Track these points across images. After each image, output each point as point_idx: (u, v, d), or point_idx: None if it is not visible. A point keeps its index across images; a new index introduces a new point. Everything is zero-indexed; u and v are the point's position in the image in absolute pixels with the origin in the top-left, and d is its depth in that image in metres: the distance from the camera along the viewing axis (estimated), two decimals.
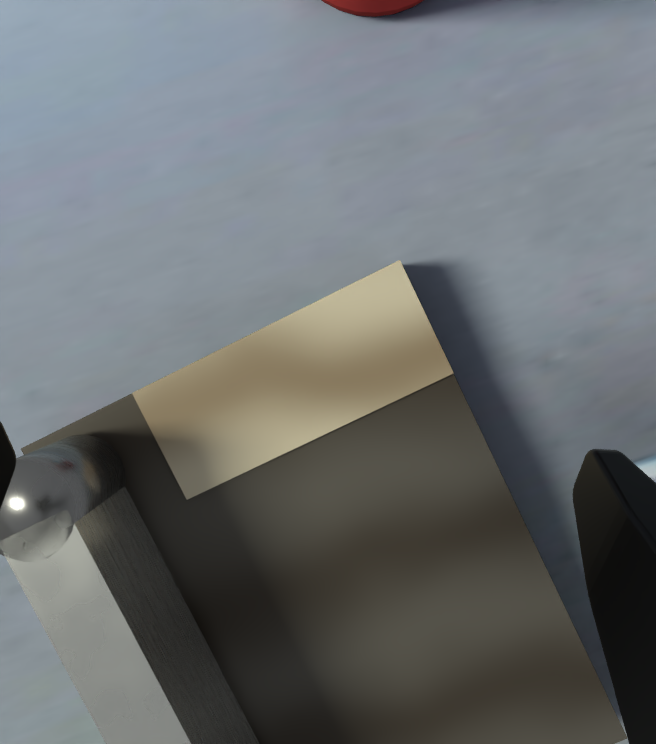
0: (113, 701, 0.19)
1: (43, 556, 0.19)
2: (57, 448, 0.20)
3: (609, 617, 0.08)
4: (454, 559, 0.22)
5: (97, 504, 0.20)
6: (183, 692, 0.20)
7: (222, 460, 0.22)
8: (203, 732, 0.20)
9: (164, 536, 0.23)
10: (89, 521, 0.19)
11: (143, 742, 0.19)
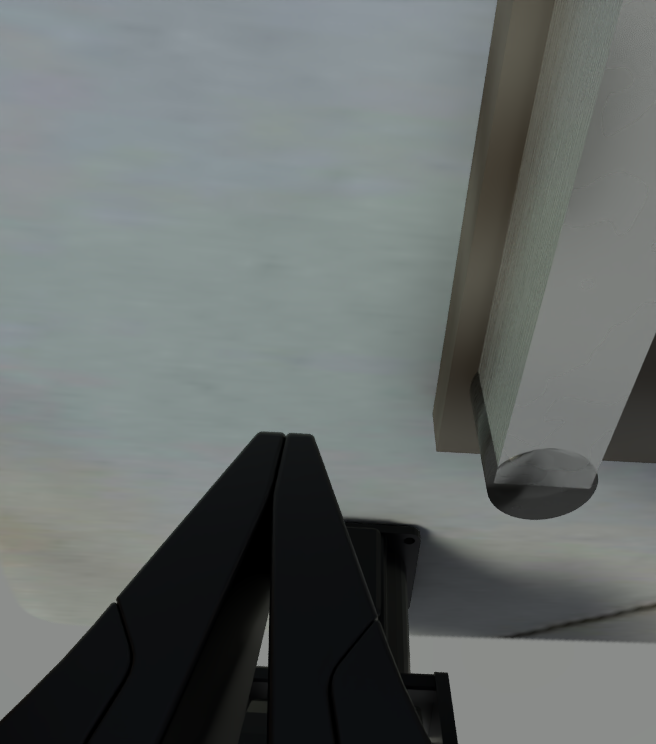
0: (620, 196, 0.11)
1: None
2: None
3: None
4: None
5: None
6: None
7: None
8: None
9: None
10: None
11: (609, 275, 0.12)
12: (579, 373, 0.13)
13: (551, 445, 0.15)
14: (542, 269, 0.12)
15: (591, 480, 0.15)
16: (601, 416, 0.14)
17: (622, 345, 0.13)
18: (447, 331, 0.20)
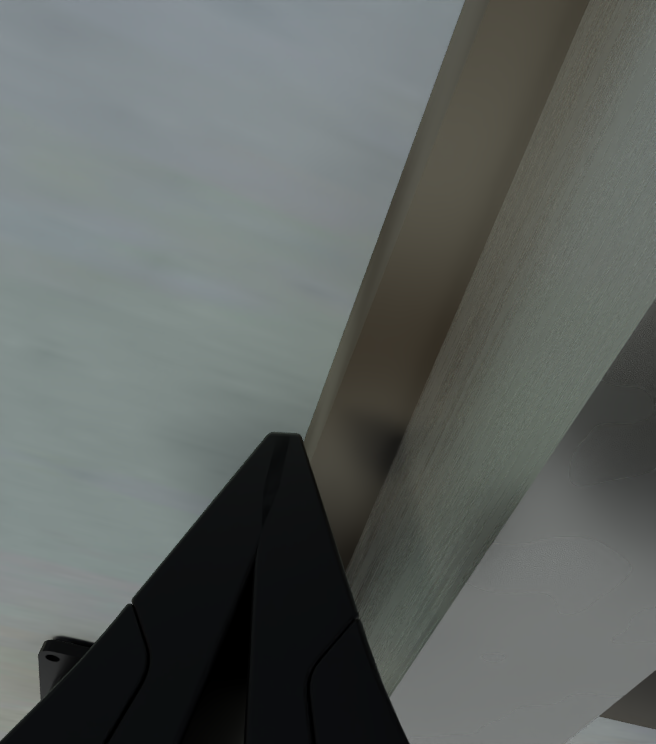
0: (578, 568, 0.06)
1: None
2: None
3: None
4: None
5: None
6: None
7: None
8: None
9: None
10: None
11: (533, 656, 0.07)
12: (459, 739, 0.08)
13: None
14: (424, 601, 0.07)
15: None
16: None
17: (533, 726, 0.08)
18: None
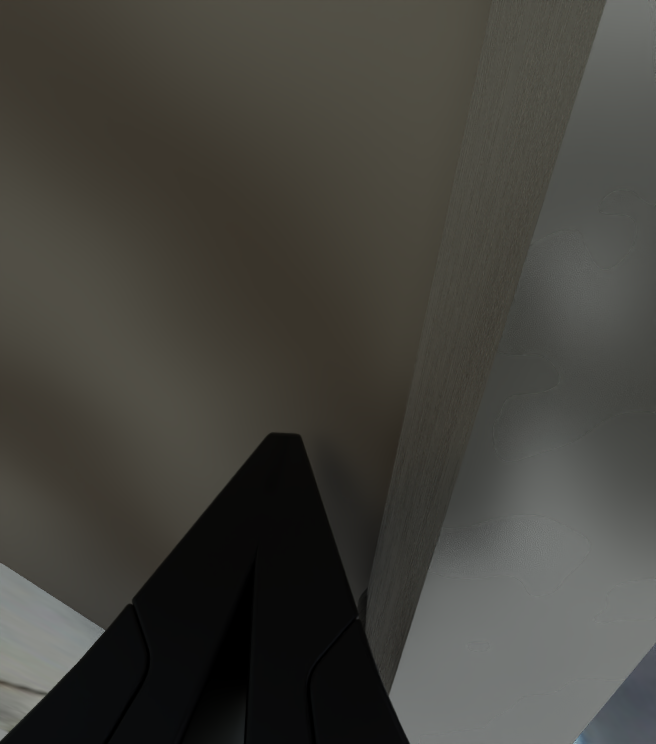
0: (535, 547, 0.05)
1: None
2: None
3: None
4: None
5: None
6: None
7: None
8: None
9: (438, 43, 0.07)
10: None
11: (517, 643, 0.06)
12: (471, 735, 0.08)
13: None
14: (407, 595, 0.07)
15: None
16: None
17: (543, 718, 0.07)
18: None
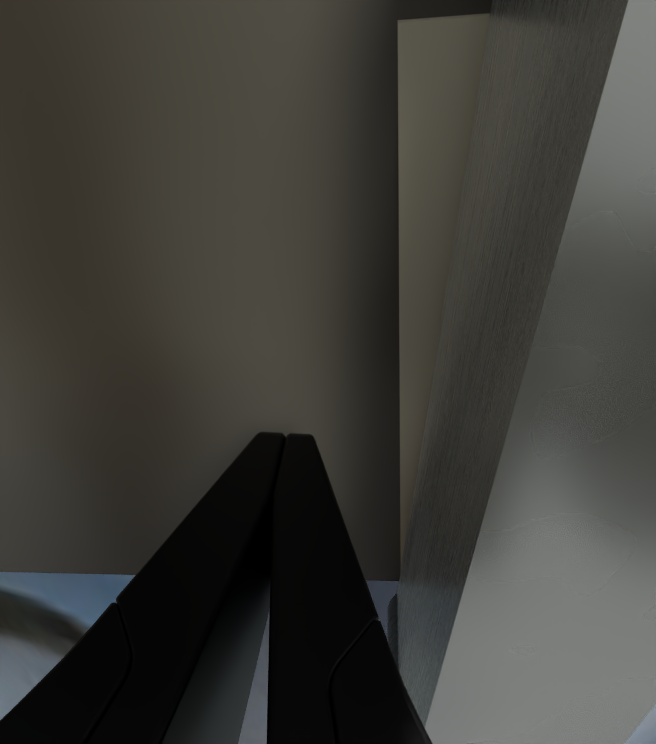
0: (579, 546, 0.05)
1: None
2: None
3: None
4: (89, 491, 0.12)
5: None
6: None
7: (458, 188, 0.08)
8: None
9: None
10: None
11: (563, 645, 0.06)
12: (518, 741, 0.08)
13: None
14: (445, 601, 0.07)
15: None
16: None
17: (591, 720, 0.07)
18: None
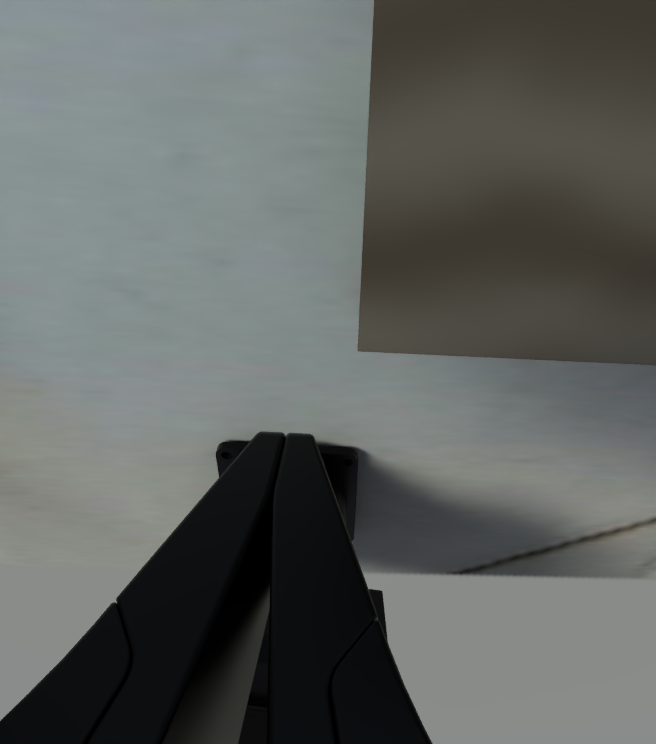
0: None
1: None
2: None
3: None
4: None
5: None
6: None
7: None
8: None
9: None
10: None
11: None
12: None
13: None
14: None
15: None
16: None
17: None
18: None
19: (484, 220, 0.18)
